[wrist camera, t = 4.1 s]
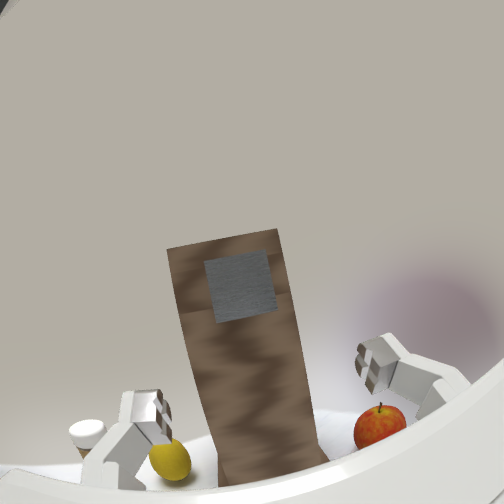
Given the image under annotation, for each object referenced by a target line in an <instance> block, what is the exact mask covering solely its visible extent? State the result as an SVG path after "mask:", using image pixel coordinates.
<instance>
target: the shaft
mask: <svg viewBox="0 0 504 504" xmlns="http://www.w3.org/2000/svg"><path fill="white" fill-rule="evenodd" d="M204 265H205V270H206V275H207V280H208V285H209V290H210V295H211V300H212V305H213V309H214V314H215V319H216V323H221V322H226V321H231V320H236V319H241V318H245V317H250V316H255V315H259V314H264V313H268V312H273V311H277V310H278V307H277V302H276V297H275V292H274V287H273V282H272V278H271V273H270V268H269V263H268V259H267V254H266V249H264V250H258V251H253V252H248V253H243V254H238V255H232V256H227V257H222V258H217V259H212V260H207V261H204Z"/></svg>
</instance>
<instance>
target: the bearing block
mask: <svg viewBox="0 0 504 504" xmlns="http://www.w3.org/2000/svg"><path fill="white" fill-rule="evenodd" d="M264 249H266V254H267V259H268V263H269V268H270V273H271V278H272V282H273V287H274V292H275V297H276V302H277V307H278V310H277V311H273V312H268V313H264V314H259V315H255V316H250V317H245V318H241V319H236V320H231V321H226V322H221V323H216V319H215V314H214V309H213V305H212V300H211V295H210V290H209V285H208V280H207V275H206V270H205V265H204V261H207V260H212V259H217V258H222V257H227V256H232V255H238V254H243V253H248V252H253V251H258V250H264ZM167 255H168V261H169V266H170V272H171V278H172V283H173V288H174V294H175V299H176V303H177V308H178V313H179V318H180V322H181V327H182V331H183V335H184V340H185V344H186V348H187V352H188V356H189V360H190V364H191V368H192V371H193V375H194V379H195V383H196V386H197V390H198V393H199V397H200V400H201V404H202V407H203V410H204V414H205V417H206V420H207V423H208V426H209V429H210V432H211V435H212V438H213V441H214V444H215V447H216V450H217V453H218V488H219V487H226V486H233V485H240V484H246V483H251V482H257V481H261V480H266V479H271V478H275V477H279V476H283V475H287V474H291V473H295V472H298V471H302V470H305V469H308V468H312V467H315V466H318V465H321V464H324V463H327V462H330V460H329V459H328V458H327V456H326V455H325V453H324V452H323V450H322V449H321V448H320V446H319V445H318V439H317V433H316V427H315V420H314V414H313V408H312V402H311V396H310V391H309V385H308V379H307V374H306V368H305V363H304V357H303V352H302V347H301V341H300V336H299V331H298V326H297V321H296V316H295V311H294V305H293V300H292V296H291V291H290V286H289V282H288V277H287V271H286V267H285V262H284V257H283V253H282V248H281V244H280V239H279V235H278V230H277V229H271V230H265V231H260V232H254V233H249V234H243V235H238V236H232V237H228V238H222V239H217V240H212V241H206V242H201V243H196V244H191V245H185V246H181V247H175V248H170V249H167Z"/></svg>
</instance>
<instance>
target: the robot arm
mask: <svg viewBox="0 0 504 504" xmlns="http://www.w3.org/2000/svg"><path fill="white" fill-rule="evenodd" d="M18 1H19V0H0V19H1V18H2V17H3V16H4V15H5V14H6V13H7V12H8V11H9V10H11V8H12V7H14V5H15V4H16V3H17V2H18ZM357 351H358V352H359V354H358V355H357V357H356V360H355V366H356V370H357V373H358V374H359V376H360V377H361V378H363V379H366V382H365V385H366V387H367V388H368V390H369V391H370V392H371V394H372V395H373V394H376V393H378V392H381V391H383V390H386V389H388V388H389V390H391V391H393V392H395V393H397V394H398V395H401V396H402V397H404V398H406V399H408V400H410V401H412V402H414V403H416V404H418V405H420V406H421V407H420V409H419V410H418V412H417V414H416V419H417V420H418V421H417V422H415V423H413V424H412V425H410V426H408V427H406V428H404V429H403V430H401V431H399V432H397V433H395V434H393V435H391V436H389V437H387V438H385V439H383V440H381V441H379V442H376V443H374V444H372V445H370V446H368V447H365V448H363V449H361V450H358V451H356V452H354V453H351V454H349V455H346V456H343V457H341V458H338V459H335V460H333V461H330V462H327V463H324V464H321V465H318V466H315V467H312V468H308V469H305V470H302V471H298V472H295V473H291V474H287V475H283V476H279V477H275V478H271V479H266V480H261V481H257V482H251V483H246V484H240V485H233V486H226V487H219V488H210V489H199V490H183V491H146V486H145V485H144V484H143V483H142V482H140V481H139V480H138V479H136V478H135V475H136V473H137V472H138V470H139V468H140V467H141V465H142V464H143V462H144V460H145V459H146V457H147V455H148V454H149V452H150V450H151V449H152V447H153V446H152V445H162V444H172V430H171V429H170V427H169V424H170V423H171V421H172V419H171V411H170V407H169V404H168V403H167V401H166V400H164V399H163V394H162V392H161V390H160V389H154V390H138V391H125V392H124V393H123V394H122V400H121V406H120V412H119V420H118V423H115V424H114V425H113V426H112V427H111V428H110V429H109V431H108V432H107V433H106V434H105V435H104V436H103V437H102V438H101V440H100V441H99V442H98V443H97V444H96V445H95V446H94V448H93V449H92V450H91V451H90V452H89V453H88V454H87V455H86V457H85V458H84V461H83V468H82V475H81V484H76V483H70V482H65V481H61V480H56V479H52V478H48V477H44V476H41V475H37V474H34V473H30V472H27V471H24V470H21V469H12V470H10V471H9V472H7V473H6V474H5V475H4V476H3V477H2V478H1V479H0V504H504V358H503V359H502V360H501V361H500V362H499V363H498V364H497V365H495V366H494V367H493V368H492V369H491V370H490V371H488V372H487V373H486V374H485V375H484V376H482V377H481V378H480V379H479V380H478V381H476V382H475V383H474V384H472V385H471V384H470V383H469V381H468V380H467V379H466V378H465V377H464V376H463V375H462V374H461V373H460V372H459V371H458V370H457V368H455V367H451V366H449V365H446V364H443V363H440V362H437V361H433V360H431V359H428V358H425V357H422V356H419V355H416V354H410V353H409V352H408V351H407V350H406V349H405V348H404V347H403V346H402V345H401V343H400V342H399V341H398V340H397V339H396V338H395V337H394V336H393V335H392V334H391V333H387V334H384V335H381V336H379V337H376V338H373V339H371V340H368V341H365V342H363V343H360V344H359V345H358V348H357Z"/></svg>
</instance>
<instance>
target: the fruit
mask: <svg viewBox="0 0 504 504" xmlns="http://www.w3.org/2000/svg"><path fill="white" fill-rule="evenodd" d="M404 428H406V421H405V417H404V415H403V414H402V412H401V411H400V410H399V409H397V408H396V407H393V406H387V405H382V403H381V402H380V406H376V407H373V408H371V409H369V410H367V411H366V412H364V413H363V414H362V415H361V416H360V417H359V418H358V420H357V422H356V424H355V427H354V441H355V444H356V446H357V447H358V449H359V450H361V449H363V448H365V447H368V446H370V445H372V444H374V443H376V442H379V441H381V440H383V439H385V438H387V437H389V436H391V435H393V434H395V433H397V432H399V431H401V430H403V429H404Z"/></svg>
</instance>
